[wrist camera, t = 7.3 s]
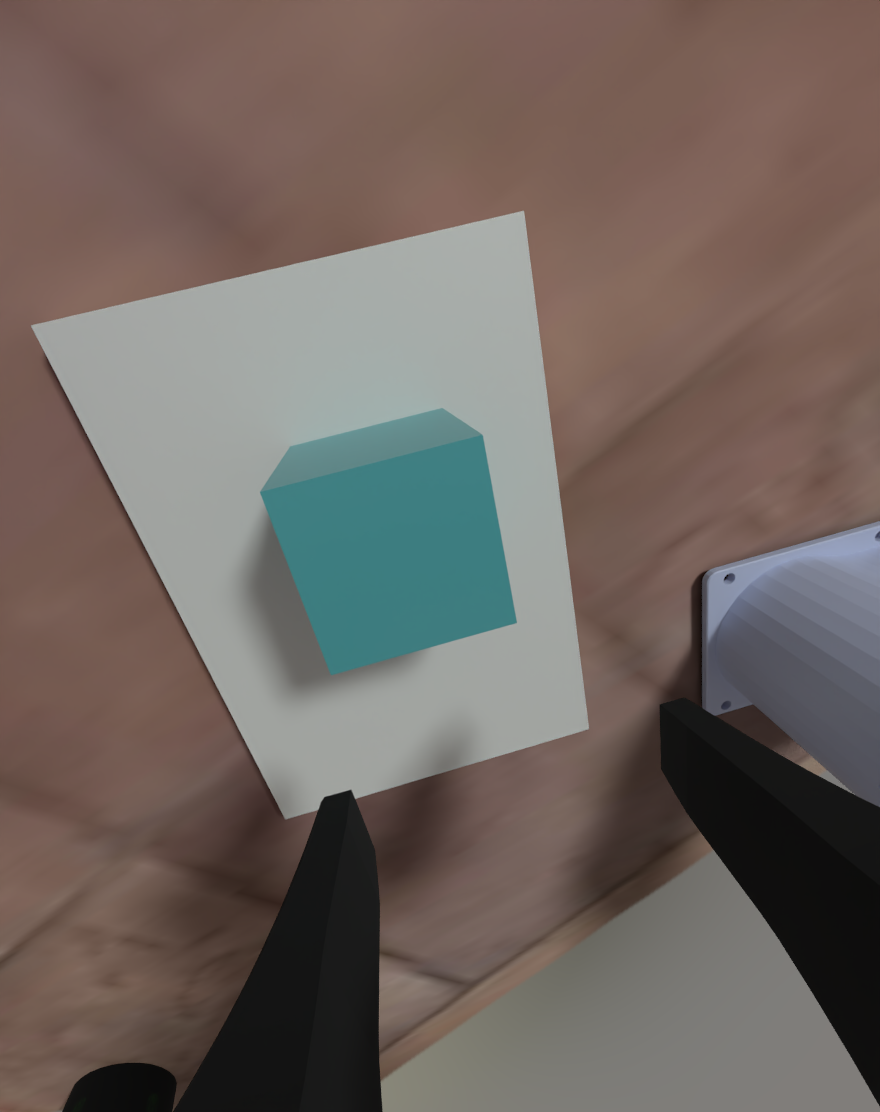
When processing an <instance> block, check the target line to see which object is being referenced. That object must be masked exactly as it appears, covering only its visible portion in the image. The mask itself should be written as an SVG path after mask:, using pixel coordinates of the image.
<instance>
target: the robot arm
mask: <svg viewBox="0 0 880 1112" xmlns="http://www.w3.org/2000/svg"><path fill="white" fill-rule="evenodd" d="M727 574H729V575H728V577H727V578H726V579H725V580H724V578H725V576H726V575H727ZM753 704H754V705H755V706H756V707H757V708H758V709H759V710H760V711H761V712H763V713H764V714H765V715H766V716H767V717H768V718H769V719H770V720H772V721H773V722H774V723H775V724H776V725H777V726H778V727H779V728H781V729H782V730H783V731H784V732H785V733H786V734H787V735H788V736H790V737H791V738H792V739H793V740H794V741H795V742H796V743H797V744H799V745H800V746H801V747H802V748H803V749H804V750H805V751H806V752H808V753H809V754H810V755H811V756H812V757H813V758H814V759H815V760H817V761H818V762H819V763H820V764H821V765H822V766H823V767H824V768H825V769H827V770H828V771H829V772H830V773H831V774H832V775H833V776H835V777H836V778H837V779H838V780H839V781H840V782H841V783H842V784H843V785H845V786H846V787H847V788H848V789H849V790H850V791H852V793H854V794H855V795H854V794H852V793H850V792H848V791H846V790H844V789H842V788H840V787H838V786H836V785H834V784H832V783H831V782H828V781H827V780H825V779H823V778H821V777H819V776H817V775H815V774H813V773H812V772H810V771H808V770H806V769H804V768H803V767H801V766H799V765H797V764H795V763H793V762H792V761H790V760H788V759H786V758H785V757H783V756H781V755H779V754H778V753H776V752H774V751H773V750H771V749H769V748H767V747H766V746H764V745H762V744H760V743H759V742H757V741H755V740H754V739H752V738H750V737H749V736H747V735H745V734H744V733H742V732H740V731H739V730H737V729H735V728H734V727H732V726H731V725H729V724H727V723H726V722H724V721H722V720H721V719H719V718H718V717H716V716H715V715H719V714H723V713H726V712H729V711H733V710H736V709H739V708H743V707H746V706H749V705H753ZM660 737H661V769H662V771H663V773H664V775H665V776H666V778H667V780H668V782H669V784H670V785H671V787H672V789H673V791H674V792H675V794H676V796H677V797H678V799H679V801H680V802H681V804H682V806H683V807H684V809H685V811H686V812H687V814H688V815H689V817H690V818H691V819H692V821H693V822H694V824H695V825H696V826H697V828H698V829H699V830H700V832H701V833H702V835H703V836H704V837H705V839H706V840H707V841H708V843H709V844H710V845H711V847H712V848H713V850H714V851H715V852H716V854H717V855H718V856H719V857H720V859H721V860H722V862H723V863H724V864H725V866H726V867H727V868H728V870H729V871H730V872H731V874H732V875H733V876H734V878H735V879H736V881H737V882H738V883H739V884H740V886H741V887H742V889H743V890H744V891H745V893H746V894H747V895H748V897H749V898H750V899H751V901H752V902H753V903H754V905H755V906H756V907H757V909H758V910H759V911H760V913H761V914H762V915H763V917H764V919H765V920H766V921H767V923H768V924H769V926H770V927H771V929H772V930H773V932H774V933H775V934H776V936H777V937H778V939H779V940H780V942H781V943H782V945H783V947H784V948H785V950H786V952H787V953H788V955H789V956H790V958H791V960H792V961H793V963H794V964H795V966H796V967H797V969H798V971H799V972H800V974H801V975H802V977H803V978H804V980H805V982H806V983H807V985H808V987H809V988H810V989H811V991H812V993H813V994H814V996H815V998H816V1000H817V1001H818V1003H819V1005H820V1006H821V1008H822V1009H823V1011H824V1013H825V1014H826V1016H827V1018H828V1019H829V1021H830V1023H831V1024H832V1026H833V1028H834V1029H835V1031H836V1033H837V1034H838V1036H839V1038H840V1039H841V1041H842V1043H843V1044H844V1046H845V1048H846V1049H847V1051H848V1053H849V1054H850V1056H851V1058H852V1059H853V1061H854V1063H855V1064H856V1066H857V1068H858V1070H859V1071H860V1073H861V1075H862V1076H863V1078H864V1080H865V1082H866V1083H867V1085H868V1087H869V1089H870V1090H871V1092H872V1094H873V1096H874V1097H875V1099H876V1101H877V1103H878V1104H879V1106H880V521H879V522H875V523H872V524H868V525H865V526H861V527H858V528H854V529H851V530H847V531H843V532H840V533H836V534H833V535H829V536H826V537H822V538H819V539H815V540H812V541H808V542H805V543H801V544H797V545H794V546H790V547H787V548H783V549H780V550H776V551H773V552H769V553H766V554H762V555H758V556H755V557H751V558H748V559H744V560H741V561H737V562H734V563H730V564H727V565H723V566H720V567H716V568H713V569H711V570H709V571H708V572H706V573H705V575H704V577H703V580H702V708H701V707H700V706H698V705H696V704H695V703H693V702H691V701H690V700H688V699H686V698H681V699H678V700H674V701H671V702H667V703H663V704H660ZM379 936H380V900H379V888H378V876H377V866H376V855H375V849H374V846H373V844H372V841H371V839H370V836H369V833H368V831H367V828H366V826H365V823H364V821H363V818H362V815H361V813H360V810H359V808H358V805H357V802H356V800H355V797H354V795H353V792H352V790H348V791H344V792H341V793H337V794H333V795H330V796H326V797H324V798H323V800H322V801H321V803H320V806H319V809H318V812H317V815H316V818H315V821H314V824H313V827H312V830H311V833H310V836H309V838H308V841H307V844H306V847H305V849H304V852H303V854H302V857H301V860H300V862H299V865H298V868H297V870H296V872H295V875H294V877H293V880H292V882H291V885H290V887H289V890H288V892H287V894H286V897H285V899H284V902H283V904H282V906H281V909H280V911H279V913H278V916H277V918H276V920H275V922H274V924H273V927H272V929H271V931H270V933H269V935H268V937H267V940H266V942H265V944H264V946H263V948H262V951H261V953H260V955H259V957H258V959H257V961H256V963H255V965H254V967H253V969H252V971H251V973H250V975H249V977H248V979H247V981H246V983H245V985H244V987H243V989H242V991H241V993H240V995H239V997H238V999H237V1001H236V1003H235V1005H234V1006H233V1008H232V1010H231V1012H230V1014H229V1016H228V1018H227V1020H226V1021H225V1023H224V1025H223V1027H222V1029H221V1031H220V1032H219V1034H218V1036H217V1038H216V1039H215V1041H214V1043H213V1045H212V1046H211V1048H210V1050H209V1052H208V1053H207V1055H206V1057H205V1059H204V1060H203V1062H202V1064H201V1066H200V1067H199V1069H198V1071H197V1073H196V1074H195V1076H194V1078H193V1080H192V1081H191V1083H190V1085H189V1086H188V1088H187V1090H186V1091H185V1093H184V1095H183V1096H182V1098H181V1100H180V1101H179V1103H178V1105H177V1106H176V1108H175V1109H174V1111H173V1112H382V1099H381V1083H380V1067H379Z"/></svg>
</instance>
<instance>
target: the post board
mask: <svg viewBox="0 0 880 1112" xmlns="http://www.w3.org/2000/svg"><path fill="white" fill-rule="evenodd" d="M31 327H32V329H33V331H34V333H35V335H36V337H37V339H38V340H39V342H40V344H41V346H42V348H43V350H44V352H45V354H46V356H47V358H48V360H49V362H50V364H51V366H52V368H53V370H54V371H55V373H56V375H57V377H58V379H59V381H60V383H61V385H62V387H63V389H64V391H65V393H66V395H67V397H68V399H69V401H70V403H71V404H72V406H73V408H74V410H75V412H76V414H77V416H78V418H79V420H80V422H81V424H82V426H83V428H84V430H85V432H86V434H87V436H88V437H89V439H90V441H91V443H92V445H93V447H94V449H95V451H96V453H97V455H98V457H99V459H100V461H101V463H102V465H103V467H104V469H105V470H106V472H107V474H108V476H109V478H110V480H111V482H112V484H113V486H114V488H115V490H116V492H117V494H118V496H119V498H120V500H121V502H122V503H123V505H124V507H125V509H126V511H127V513H128V515H129V517H130V519H131V521H132V523H133V525H134V527H135V529H136V531H137V533H138V535H139V536H140V538H141V540H142V542H143V544H144V546H145V548H146V550H147V552H148V554H149V556H150V558H151V560H152V562H153V564H154V566H155V568H156V569H157V571H158V573H159V575H160V577H161V579H162V581H163V583H164V585H165V587H166V589H167V591H168V593H169V595H170V597H171V599H172V601H173V602H174V604H175V606H176V608H177V610H178V612H179V614H180V616H181V618H182V620H183V622H184V624H185V626H186V628H187V630H188V632H189V634H190V635H191V637H192V639H193V641H194V643H195V645H196V647H197V649H198V651H199V653H200V655H201V657H202V659H203V661H204V663H205V665H206V667H207V668H208V670H209V672H210V674H211V676H212V678H213V680H214V682H215V684H216V686H217V688H218V690H219V692H220V694H221V696H222V698H223V700H224V701H225V703H226V705H227V707H228V709H229V711H230V713H231V715H232V717H233V719H234V721H235V723H236V725H237V727H238V729H239V731H240V733H241V734H242V736H243V738H244V740H245V742H246V744H247V746H248V748H249V750H250V752H251V754H252V756H253V758H254V760H255V762H256V764H257V766H258V767H259V769H260V771H261V773H262V775H263V777H264V779H265V781H266V783H267V785H268V787H269V789H270V791H271V793H272V795H273V797H274V799H275V800H276V802H277V804H278V806H279V808H280V810H281V812H282V814H283V816H284V818H285V819H289V818H292V817H295V816H299V815H302V814H305V813H309V812H312V811H316V810H318V809H319V806H320V803H321V801H322V800H323V798H324V797H326V796H330V795H333V794H337V793H341V792H344V791H348V790H352V792H353V795H354V797H355V799H356V798H359V797H363V796H366V795H369V794H373V793H376V792H379V791H383V790H386V789H389V788H393V787H396V786H399V785H403V784H406V783H410V782H413V781H416V780H420V779H423V778H426V777H430V776H433V775H436V774H440V773H443V772H447V771H450V770H453V769H457V768H460V767H463V766H467V765H470V764H473V763H477V762H480V761H483V760H487V759H490V758H494V757H497V756H500V755H504V754H507V753H510V752H514V751H517V750H520V749H524V748H527V747H530V746H534V745H537V744H541V743H544V742H547V741H551V740H554V739H557V738H561V737H564V736H567V735H571V734H574V733H577V732H581V731H584V730H588V729H589V725H588V717H587V709H586V701H585V693H584V685H583V677H582V669H581V661H580V653H579V645H578V638H577V630H576V622H575V614H574V606H573V598H572V590H571V582H570V574H569V566H568V558H567V550H566V542H565V534H564V526H563V518H562V510H561V502H560V494H559V486H558V478H557V470H556V462H555V454H554V446H553V439H552V431H551V423H550V415H549V407H548V399H547V391H546V383H545V375H544V367H543V359H542V351H541V343H540V335H539V327H538V319H537V311H536V303H535V295H534V287H533V279H532V271H531V263H530V255H529V247H528V240H527V232H526V224H525V216H524V211H521V212H517V213H513V214H508V215H504V216H500V217H496V218H491V219H487V220H483V221H478V222H474V223H470V224H465V225H461V226H457V227H453V228H448V229H444V230H440V231H435V232H431V233H427V234H422V235H418V236H414V237H410V238H405V239H401V240H397V241H392V242H388V243H384V244H379V245H375V246H371V247H367V248H362V249H358V250H354V251H349V252H345V253H341V254H336V255H332V256H328V257H324V258H319V259H315V260H311V261H306V262H302V263H298V264H293V265H289V266H285V267H281V268H276V269H272V270H268V271H263V272H259V273H255V274H250V275H246V276H242V277H238V278H233V279H229V280H225V281H220V282H216V283H212V284H207V285H203V286H199V287H195V288H190V289H186V290H182V291H177V292H173V293H169V294H164V295H160V296H156V297H152V298H147V299H143V300H139V301H134V302H130V303H126V304H121V305H117V306H113V307H108V308H104V309H100V310H96V311H91V312H87V313H83V314H78V315H74V316H70V317H65V318H61V319H57V320H53V321H48V322H44V323H40V324H35V325H31ZM440 408H443V409H445V410H446V411H448V412H449V413H451V414H452V415H454V416H455V417H457V418H458V419H460V420H461V421H463V422H464V423H466V424H467V425H469V426H470V427H472V428H473V429H475V430H476V431H478V432H479V433H481V434H482V435H483V439H484V444H485V450H486V455H487V461H488V466H489V472H490V477H491V483H492V488H493V494H494V499H495V505H496V510H497V516H498V521H499V527H500V532H501V537H502V543H503V548H504V554H505V559H506V565H507V570H508V576H509V581H510V587H511V592H512V598H513V603H514V609H515V614H516V620H517V623H515V624H512V625H508V626H505V627H501V628H498V629H494V630H490V631H487V632H483V633H480V634H476V635H473V636H469V637H466V638H462V639H459V640H455V641H451V642H448V643H444V644H441V645H437V646H434V647H430V648H427V649H423V650H419V651H416V652H412V653H409V654H405V655H402V656H398V657H395V658H391V659H387V660H384V661H380V662H377V663H373V664H370V665H366V666H363V667H359V668H355V669H352V670H348V671H345V672H341V673H338V674H334V675H331V674H330V672H329V669H328V667H327V664H326V661H325V659H324V656H323V654H322V651H321V649H320V646H319V643H318V641H317V638H316V636H315V633H314V631H313V628H312V625H311V623H310V620H309V618H308V615H307V612H306V610H305V607H304V605H303V602H302V600H301V597H300V594H299V592H298V589H297V587H296V584H295V582H294V579H293V576H292V574H291V571H290V569H289V566H288V564H287V561H286V558H285V556H284V553H283V551H282V548H281V545H280V543H279V540H278V538H277V535H276V533H275V530H274V527H273V525H272V522H271V520H270V517H269V515H268V512H267V509H266V507H265V504H264V502H263V499H262V496H261V494H260V491H261V490H262V488H263V487H264V485H265V484H266V482H267V481H268V479H269V477H270V476H271V474H272V473H273V471H274V470H275V468H276V467H277V465H278V464H279V462H280V461H281V459H282V458H283V456H284V455H285V453H286V452H287V450H288V449H289V447H290V446H294V445H298V444H301V443H305V442H309V441H313V440H317V439H321V438H325V437H329V436H333V435H337V434H341V433H345V432H349V431H353V430H357V429H361V428H365V427H369V426H373V425H377V424H381V423H385V422H389V421H392V420H396V419H400V418H404V417H408V416H412V415H416V414H420V413H424V412H428V411H432V410H436V409H440Z"/></svg>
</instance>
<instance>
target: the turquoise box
mask: <svg viewBox="0 0 880 1112" xmlns="http://www.w3.org/2000/svg"><path fill="white" fill-rule="evenodd" d="M260 494H261V496H262V499H263V502H264V504H265V507H266V509H267V512H268V515H269V517H270V520H271V522H272V525H273V527H274V530H275V533H276V535H277V538H278V540H279V543H280V545H281V548H282V551H283V553H284V556H285V558H286V561H287V564H288V566H289V569H290V571H291V574H292V576H293V579H294V582H295V584H296V587H297V589H298V592H299V594H300V597H301V600H302V602H303V605H304V607H305V610H306V612H307V615H308V618H309V620H310V623H311V625H312V628H313V631H314V633H315V636H316V638H317V641H318V643H319V646H320V649H321V651H322V654H323V656H324V659H325V661H326V664H327V667H328V669H329V672H330V674H331V675H334V674H338V673H341V672H345V671H348V670H352V669H355V668H359V667H363V666H366V665H370V664H373V663H377V662H380V661H384V660H387V659H391V658H395V657H398V656H402V655H405V654H409V653H412V652H416V651H419V650H423V649H427V648H430V647H434V646H437V645H441V644H444V643H448V642H451V641H455V640H459V639H462V638H466V637H469V636H473V635H476V634H480V633H483V632H487V631H490V630H494V629H498V628H501V627H505V626H508V625H512V624H515V623H517V620H516V614H515V609H514V603H513V598H512V592H511V587H510V581H509V576H508V570H507V565H506V559H505V554H504V548H503V543H502V537H501V532H500V527H499V521H498V516H497V510H496V505H495V499H494V494H493V488H492V483H491V477H490V472H489V466H488V461H487V455H486V450H485V444H484V439H483V435H482V434H481V433H479V432H478V431H476V430H475V429H473V428H472V427H470V426H469V425H467V424H466V423H464V422H463V421H461V420H460V419H458V418H457V417H455V416H454V415H452V414H451V413H449V412H448V411H446V410H445V409H443V408H440V409H436V410H432V411H428V412H424V413H420V414H416V415H412V416H408V417H404V418H400V419H396V420H392V421H389V422H385V423H381V424H377V425H373V426H369V427H365V428H361V429H357V430H353V431H349V432H345V433H341V434H337V435H333V436H329V437H325V438H321V439H317V440H313V441H309V442H305V443H301V444H298V445H294V446H290V447H289V449H288V450H287V452H286V453H285V455H284V456H283V458H282V459H281V461H280V462H279V464H278V465H277V467H276V468H275V470H274V471H273V473H272V474H271V476H270V477H269V479H268V481H267V482H266V484H265V485H264V487H263V488H262V490H261V491H260Z"/></svg>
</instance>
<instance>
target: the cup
mask: <svg viewBox="0 0 880 1112" xmlns="http://www.w3.org/2000/svg"><path fill="white" fill-rule="evenodd" d="M176 1084H177V1083H176V1080H175V1077H174V1076H173V1075H172V1074H171V1073H170V1072H168V1071H167V1070H165V1069H163V1068H161V1067H157V1066H154V1065H149V1064H142V1063H125V1064H117V1065H112V1066H108V1067H104V1068H100V1069H98V1070H95V1071H93V1072H90V1073H89V1074H87V1075H86V1076H84V1077H82V1078H81V1079H80V1080H79V1081H78V1082H77V1083H76V1084H75V1085H74V1087H73V1089H72V1092H71V1094H70V1096H69V1098H68V1100H67V1103H66V1105H65V1107H64V1109H63V1111H62V1112H172V1109H173V1103H174V1097H175V1091H176Z"/></svg>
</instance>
